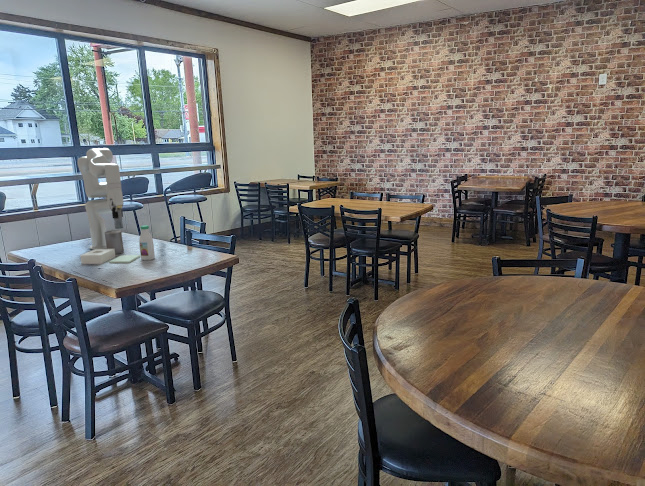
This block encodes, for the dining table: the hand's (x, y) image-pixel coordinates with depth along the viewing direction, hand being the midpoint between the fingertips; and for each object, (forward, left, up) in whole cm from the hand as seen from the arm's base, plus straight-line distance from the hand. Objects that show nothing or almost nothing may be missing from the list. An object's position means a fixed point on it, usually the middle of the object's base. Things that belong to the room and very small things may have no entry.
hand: (117, 217), depth 263 cm
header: (0, -15, -26) cm, 30 cm away
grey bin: (-18, -14, -26) cm, 34 cm away
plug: (0, 0, -6) cm, 6 cm away
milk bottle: (-2, +14, -26) cm, 30 cm away
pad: (0, +1, -26) cm, 26 cm away
